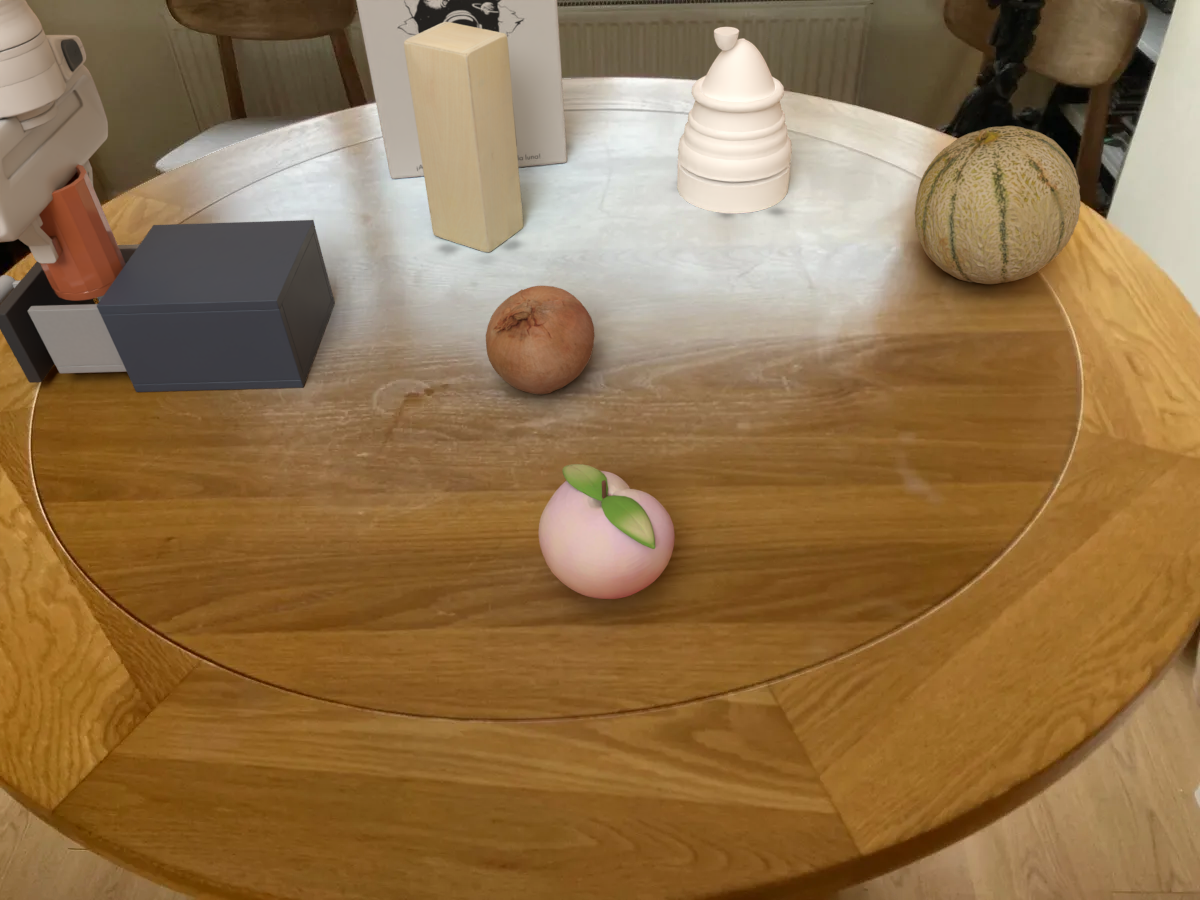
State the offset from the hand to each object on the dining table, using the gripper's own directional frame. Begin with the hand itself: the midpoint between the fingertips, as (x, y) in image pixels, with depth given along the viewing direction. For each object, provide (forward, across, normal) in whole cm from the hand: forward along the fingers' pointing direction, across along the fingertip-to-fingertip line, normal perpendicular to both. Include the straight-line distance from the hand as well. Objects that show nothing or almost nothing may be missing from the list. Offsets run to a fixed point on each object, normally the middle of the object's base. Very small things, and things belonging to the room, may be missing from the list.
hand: (70, 235), depth 84 cm
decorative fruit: (+12, -31, -46) cm, 57 cm away
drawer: (+11, 0, +1) cm, 11 cm away
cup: (+5, 0, 0) cm, 5 cm away
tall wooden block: (+12, +20, -33) cm, 41 cm away
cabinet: (+12, 0, -12) cm, 17 cm away
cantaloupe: (+13, +9, -84) cm, 85 cm away
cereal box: (+12, +39, -31) cm, 51 cm away
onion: (+12, -7, -41) cm, 43 cm away
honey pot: (+13, +29, -61) cm, 69 cm away
